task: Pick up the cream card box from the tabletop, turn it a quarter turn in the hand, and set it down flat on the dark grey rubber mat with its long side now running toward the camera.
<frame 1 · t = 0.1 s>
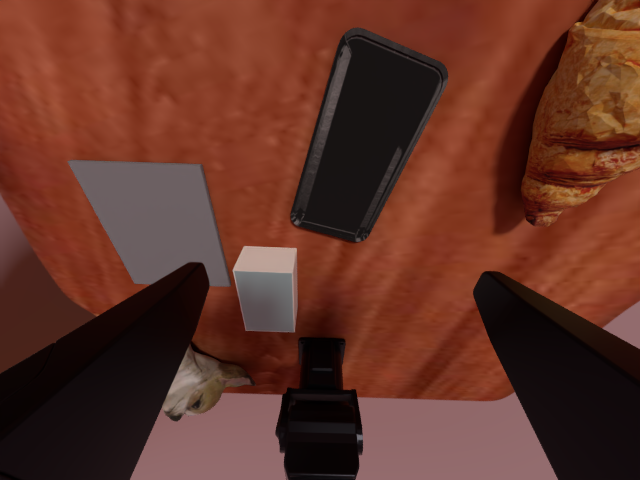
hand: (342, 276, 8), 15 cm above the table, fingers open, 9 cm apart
croissant: (606, 76, 17), on the table
ceramic sculpture: (205, 355, 38), on the table
card box: (273, 277, 28), on the table
mat: (164, 232, 24), on the table
phone: (355, 155, 21), on the table
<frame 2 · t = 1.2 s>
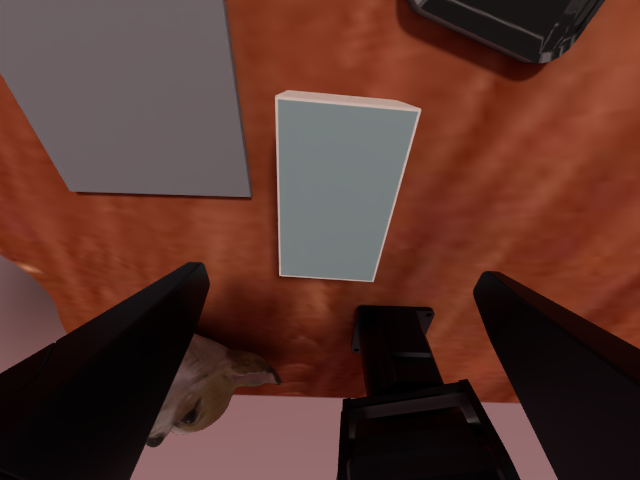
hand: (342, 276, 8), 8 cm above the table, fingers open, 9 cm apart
ceramic sculpture: (204, 339, 25), on the table
card box: (332, 179, 15), on the table
mat: (113, 49, 11), on the table
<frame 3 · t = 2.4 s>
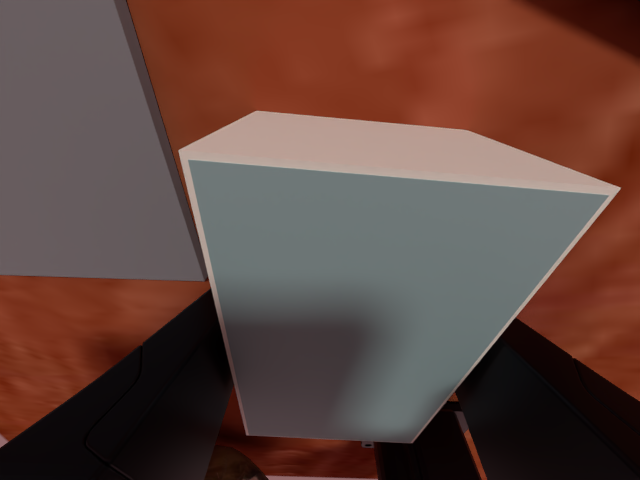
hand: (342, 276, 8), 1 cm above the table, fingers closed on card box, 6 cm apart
ceramic sculpture: (167, 426, 19), on the table
card box: (340, 257, 9), on the table, touching gripper
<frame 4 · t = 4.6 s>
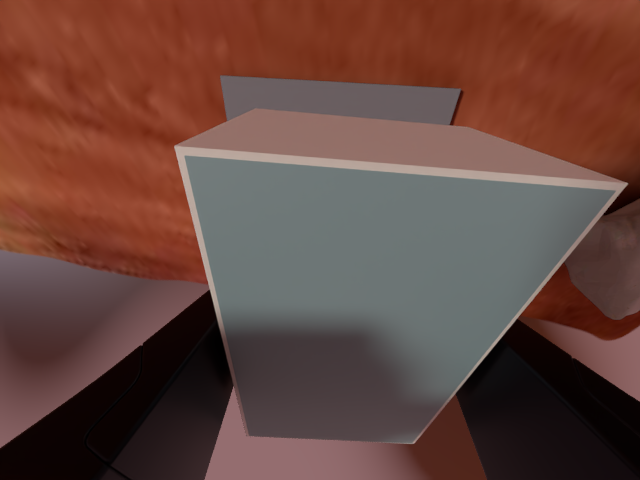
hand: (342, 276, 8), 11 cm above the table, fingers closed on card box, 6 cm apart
ceramic sculpture: (636, 207, 19), on the table
card box: (341, 256, 9), point 10 cm above the table, touching gripper
mat: (333, 172, 18), on the table
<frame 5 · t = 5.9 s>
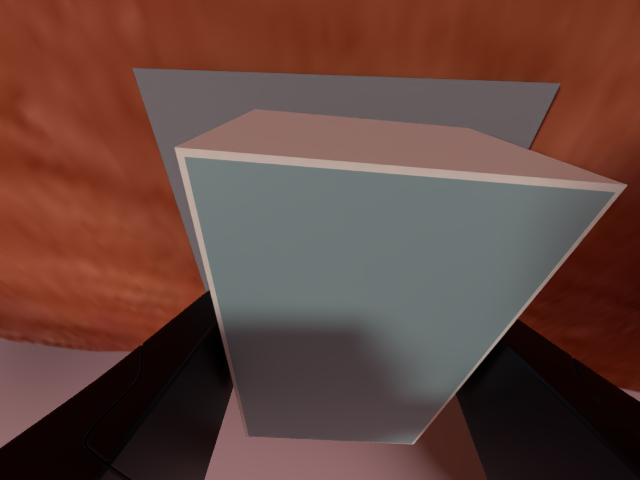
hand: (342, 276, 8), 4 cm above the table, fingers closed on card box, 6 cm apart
card box: (341, 256, 9), point 3 cm above the table, touching gripper
mat: (335, 218, 11), on the table
when the fingers open (3 cm above the table, at t = 7.0 s): card box drops 2 cm, resting on mat.
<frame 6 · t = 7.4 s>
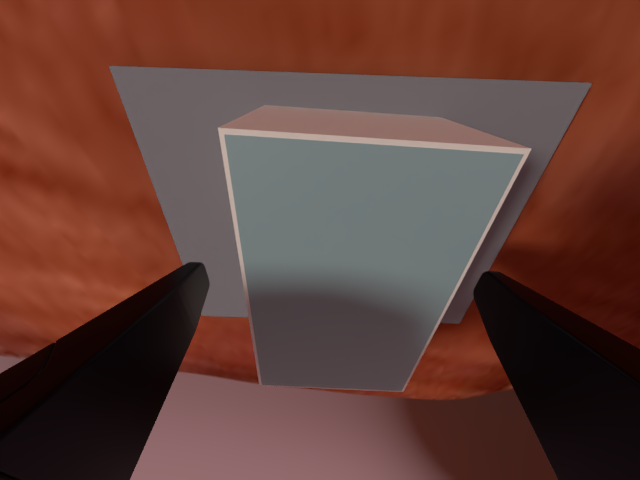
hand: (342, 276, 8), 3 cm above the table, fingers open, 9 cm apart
card box: (338, 233, 10), resting on mat
mat: (337, 229, 10), on the table
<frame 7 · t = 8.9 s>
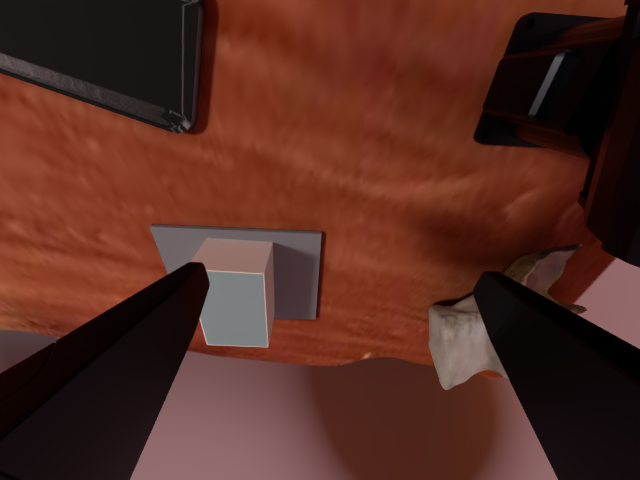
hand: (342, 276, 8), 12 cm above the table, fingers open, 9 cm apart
ceramic sculpture: (481, 293, 25), on the table
card box: (244, 279, 23), resting on mat
mat: (245, 277, 23), on the table
phone: (62, 12, 13), on the table
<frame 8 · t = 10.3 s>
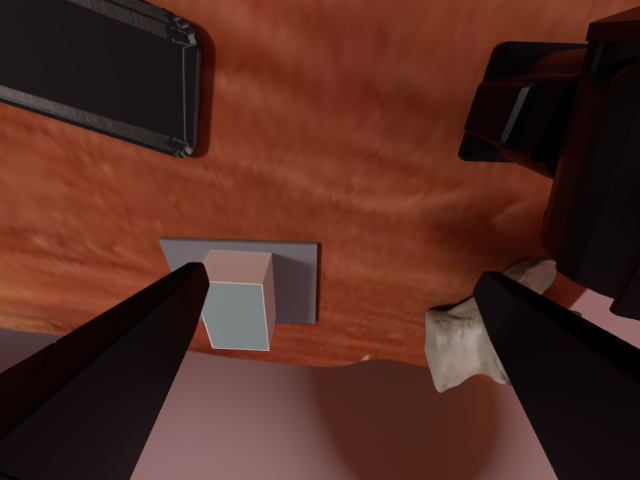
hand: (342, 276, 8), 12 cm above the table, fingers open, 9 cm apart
ceramic sculpture: (477, 299, 26), on the table
card box: (246, 286, 24), resting on mat
mat: (247, 284, 25), on the table
phone: (78, 55, 15), on the table
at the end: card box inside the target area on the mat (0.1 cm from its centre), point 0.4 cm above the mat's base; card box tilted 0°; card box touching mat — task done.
